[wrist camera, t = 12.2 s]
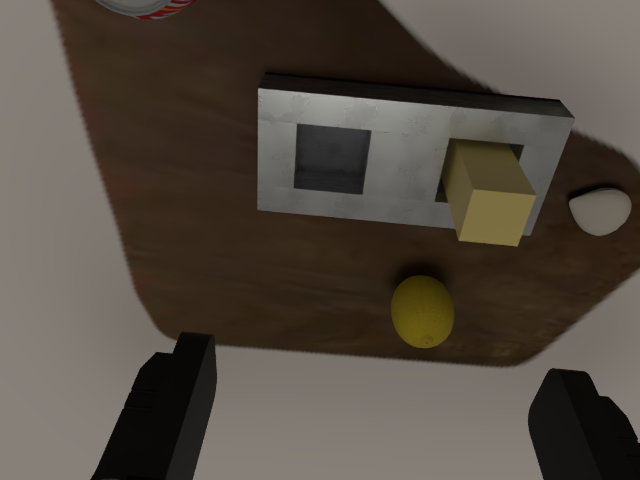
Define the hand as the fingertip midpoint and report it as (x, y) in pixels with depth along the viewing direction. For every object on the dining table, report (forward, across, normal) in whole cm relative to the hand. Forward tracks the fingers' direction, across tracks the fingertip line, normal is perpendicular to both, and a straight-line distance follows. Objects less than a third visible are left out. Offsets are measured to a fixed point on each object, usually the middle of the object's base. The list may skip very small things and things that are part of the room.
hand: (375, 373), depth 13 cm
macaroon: (+30, -21, +11) cm, 39 cm away
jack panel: (+30, -4, +8) cm, 31 cm away
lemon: (+30, -8, +22) cm, 38 cm away
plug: (+30, -10, +8) cm, 32 cm away
